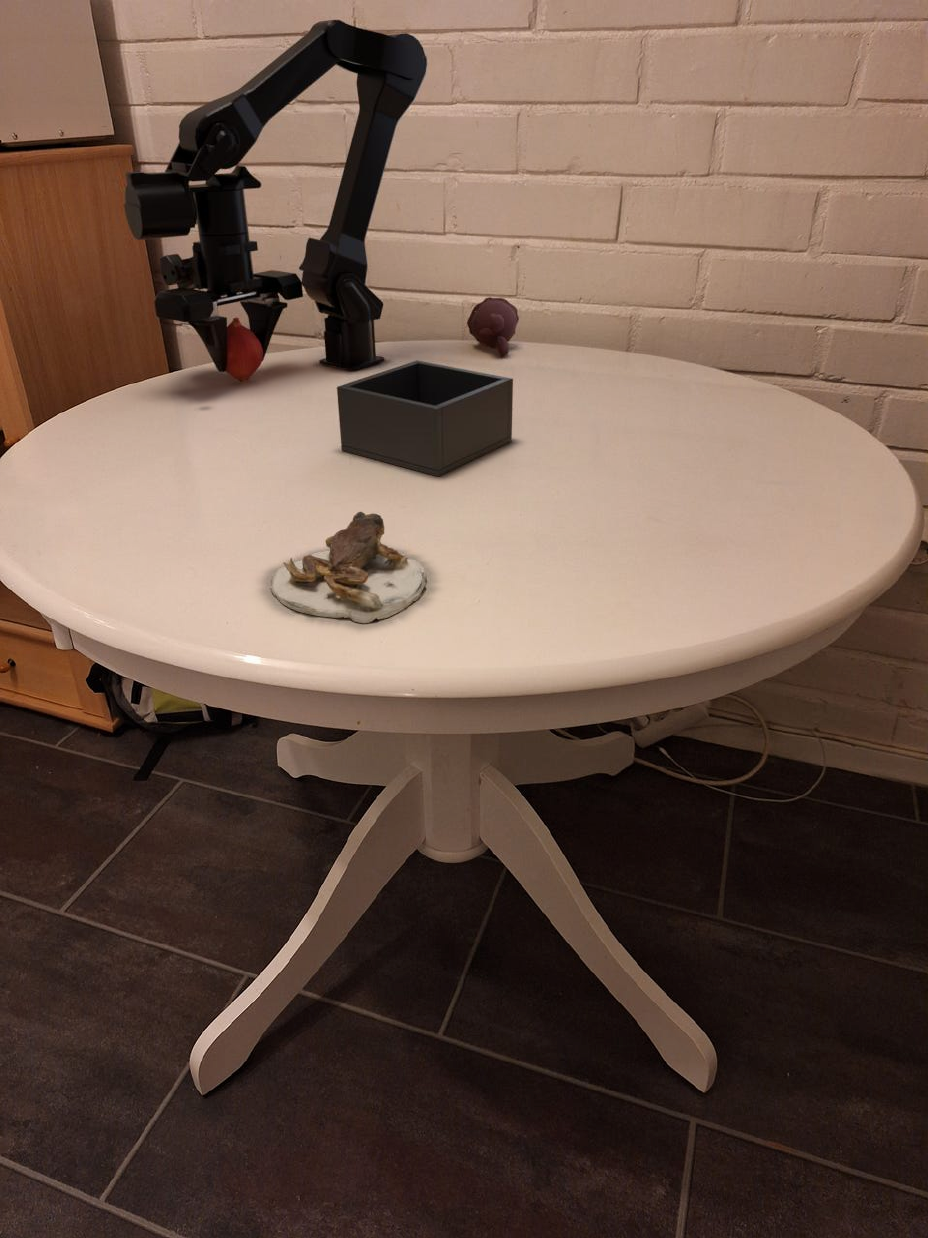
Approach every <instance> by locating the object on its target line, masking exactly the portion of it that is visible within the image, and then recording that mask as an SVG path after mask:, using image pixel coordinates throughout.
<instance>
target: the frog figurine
mask: <svg viewBox="0 0 928 1238" xmlns="http://www.w3.org/2000/svg"><path fill="white" fill-rule="evenodd" d="M383 535H385V523H384V519H383V518H382V515H380V514H378V513H374V512H373V513H369V514H366V513H365V512H363V511H358V512H356V514H354V515H353V518H352V519H351V521H350V522H349V524H348V525H347V527H346V528H344V529H339V530H338V531H336V532H335V533H334V535H332V536H330V537H328V538H325V546H326V547H327V548H329V550H325V551H319V552H313V554H309V555H305V556H303V558H302V559H300V560H298V561H295V562H294V561H293V558H292V557H290V559H289V563H287V562H284V561H283V562H282V564H283V566H281V567H278V568H276V569H275V570H274V572H273V574H272V576H271V578H270V584H271V587H270V590H271V594H273V596H274V597H276V598H277V600H278V601H279V602H280V604H282V605H283V606H285V607H287V608H289V609H291V610H293V611H295V612H298V613H302V614H307V615H310V616H311V615H312V616H315V617H317V616H318V617H324V618H334V619H336V618H338V619H342V618H344V619H351V620H352V621H353V622H355V623H359V624H369V623H371V622H373V621H374V620H376V619H377V620H378V621H379V620H382V619H383V620H385V619H386V618H390V617H391V616H394V615H396V614H397V613H400V612H402V611H403V610H404V609H406V608H407V607H409V606H410V605H411V604H412V603H413V602H416V601H417V600H419V598H421V596H422V592H423V590H424V588H425V587H426V585H427V582H426V581H427V573H426V571H425V568H424V566H423V565H422V564H421V563H419V562H418V560H415V559H407V557H410V556H409V555H407V554H404V553H401V552H399V551H398V550H397V549H394V548H392V547H388V546H387V545H386V544H384V543H382V542H381V539H382V536H383Z"/></svg>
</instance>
